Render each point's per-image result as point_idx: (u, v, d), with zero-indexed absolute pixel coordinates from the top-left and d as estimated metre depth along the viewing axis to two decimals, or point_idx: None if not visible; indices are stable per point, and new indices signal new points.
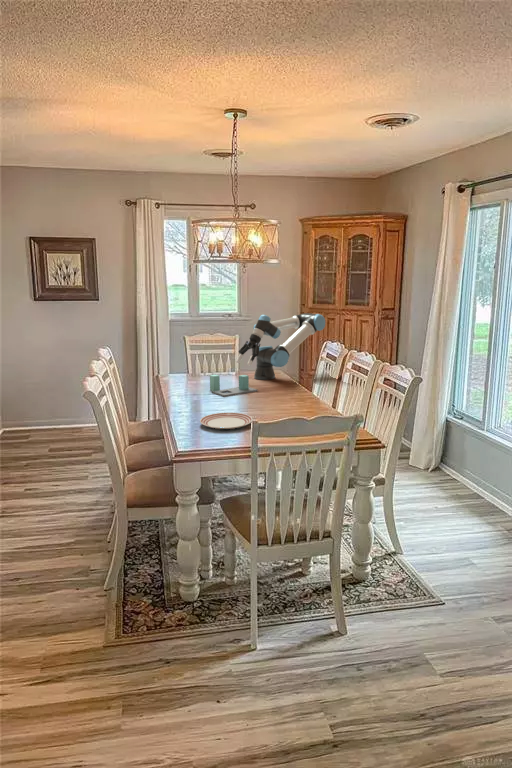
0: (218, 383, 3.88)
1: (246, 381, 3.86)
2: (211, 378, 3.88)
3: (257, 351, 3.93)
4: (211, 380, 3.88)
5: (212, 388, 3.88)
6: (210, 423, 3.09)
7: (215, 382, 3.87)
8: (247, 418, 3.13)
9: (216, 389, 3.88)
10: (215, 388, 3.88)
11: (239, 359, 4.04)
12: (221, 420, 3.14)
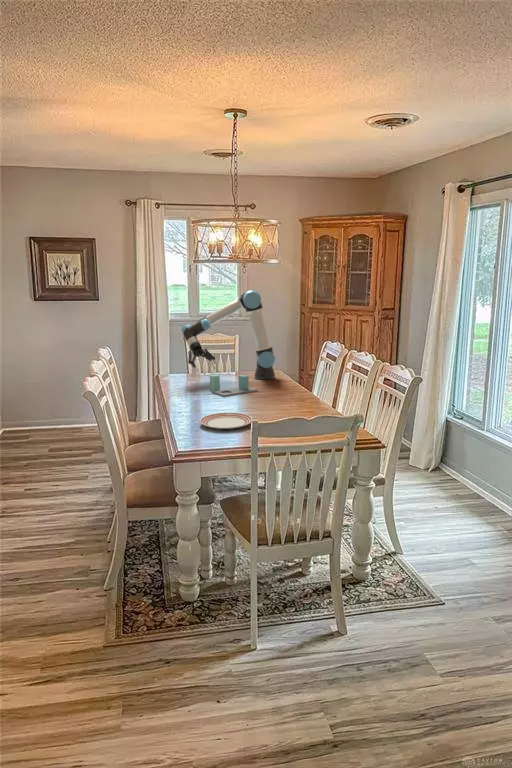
0: (218, 383, 3.88)
1: (246, 381, 3.86)
2: (211, 378, 3.88)
3: (189, 359, 3.93)
4: (211, 380, 3.88)
5: (212, 388, 3.88)
6: (210, 423, 3.09)
7: (215, 382, 3.87)
8: (247, 418, 3.13)
9: (216, 389, 3.88)
10: (215, 388, 3.88)
11: (212, 365, 3.99)
12: (221, 420, 3.14)
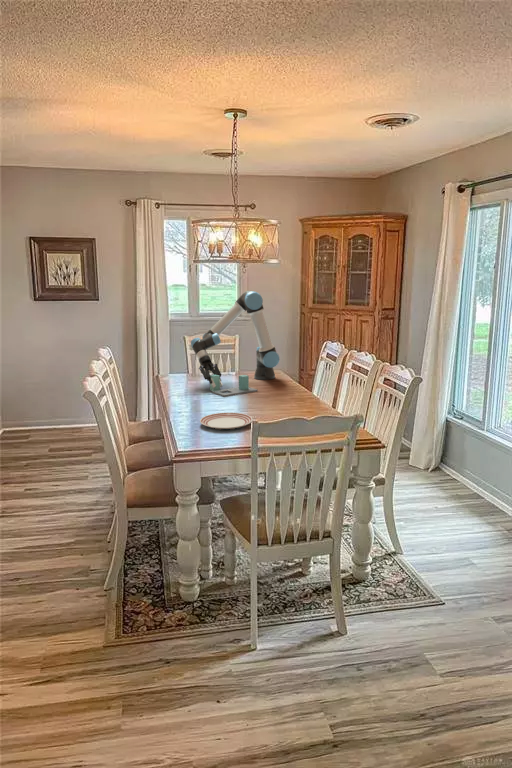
0: (218, 383, 3.88)
1: (246, 381, 3.86)
2: None
3: (204, 375, 3.87)
4: None
5: (212, 388, 3.88)
6: (210, 423, 3.09)
7: (215, 382, 3.87)
8: (247, 418, 3.13)
9: (216, 389, 3.88)
10: (215, 388, 3.88)
11: None
12: (221, 420, 3.14)
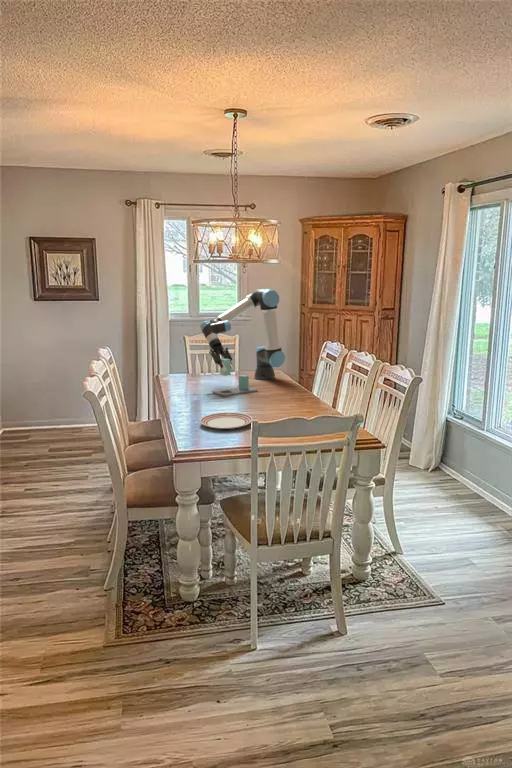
0: (229, 367, 3.76)
1: (246, 381, 3.86)
2: None
3: (214, 358, 3.75)
4: None
5: (223, 372, 3.75)
6: (210, 423, 3.09)
7: (226, 366, 3.74)
8: (247, 418, 3.13)
9: (227, 373, 3.75)
10: (226, 372, 3.75)
11: None
12: (221, 420, 3.14)
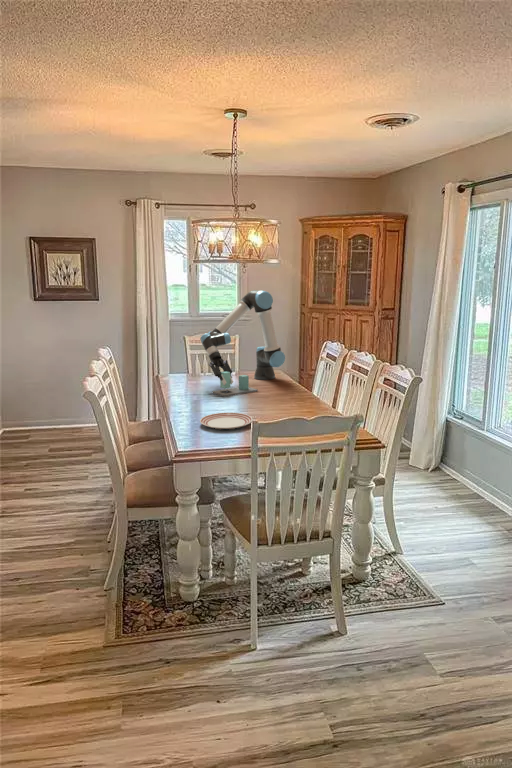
0: (229, 380, 3.77)
1: (246, 381, 3.86)
2: None
3: (214, 371, 3.76)
4: None
5: (222, 385, 3.77)
6: (210, 423, 3.09)
7: (226, 379, 3.76)
8: (247, 418, 3.13)
9: (227, 386, 3.77)
10: (226, 385, 3.76)
11: None
12: (221, 420, 3.14)
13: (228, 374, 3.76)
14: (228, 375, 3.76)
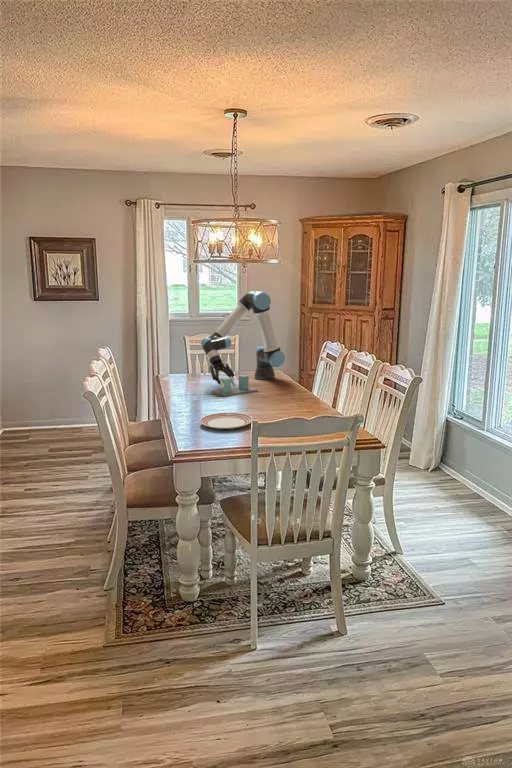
0: (230, 386, 3.78)
1: (246, 381, 3.86)
2: (222, 381, 3.77)
3: (212, 375, 3.76)
4: None
5: (223, 391, 3.78)
6: (210, 423, 3.09)
7: (226, 385, 3.77)
8: (247, 418, 3.13)
9: (227, 392, 3.78)
10: (226, 391, 3.77)
11: (232, 382, 3.80)
12: (221, 420, 3.14)
13: (229, 380, 3.77)
14: (229, 381, 3.77)
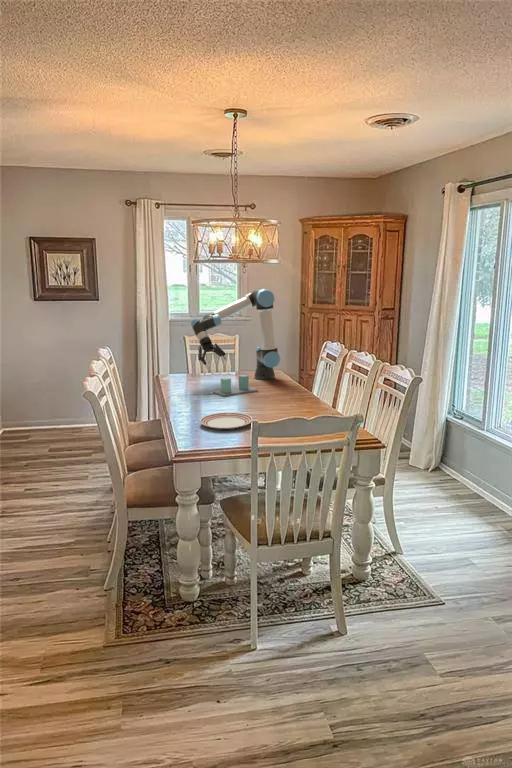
0: (230, 386, 3.78)
1: (246, 381, 3.86)
2: (222, 381, 3.77)
3: (199, 355, 3.85)
4: (222, 383, 3.78)
5: (223, 391, 3.78)
6: (210, 423, 3.09)
7: (226, 385, 3.77)
8: (247, 418, 3.13)
9: (227, 392, 3.78)
10: (226, 391, 3.77)
11: (223, 361, 3.92)
12: (221, 420, 3.14)
13: (229, 380, 3.77)
14: (229, 381, 3.77)
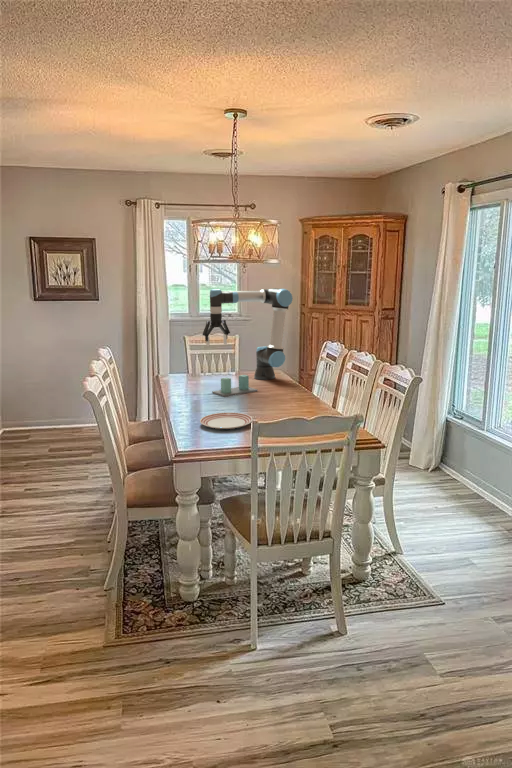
0: (230, 386, 3.78)
1: (246, 381, 3.86)
2: (222, 381, 3.77)
3: (204, 330, 3.85)
4: (222, 383, 3.78)
5: (223, 391, 3.78)
6: (210, 423, 3.09)
7: (226, 385, 3.77)
8: (247, 418, 3.13)
9: (227, 392, 3.78)
10: (226, 391, 3.77)
11: (224, 340, 3.96)
12: (221, 420, 3.14)
13: (229, 380, 3.77)
14: (229, 381, 3.77)
